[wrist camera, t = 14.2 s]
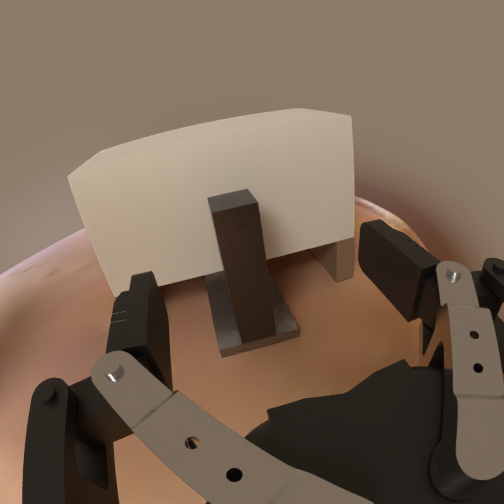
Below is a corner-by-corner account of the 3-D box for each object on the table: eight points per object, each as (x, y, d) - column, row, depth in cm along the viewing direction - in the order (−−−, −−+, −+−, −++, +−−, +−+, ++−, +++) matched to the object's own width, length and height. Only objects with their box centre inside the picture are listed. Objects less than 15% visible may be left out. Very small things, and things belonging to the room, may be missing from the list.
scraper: (299, 337, 26) (287, 195, 19) (222, 358, 25) (180, 220, 19) (249, 238, 43) (233, 147, 36) (200, 250, 42) (178, 159, 36)
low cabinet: (352, 277, 32) (351, 115, 23) (133, 334, 29) (67, 176, 20) (305, 225, 44) (294, 107, 35) (141, 266, 41) (104, 148, 32)
